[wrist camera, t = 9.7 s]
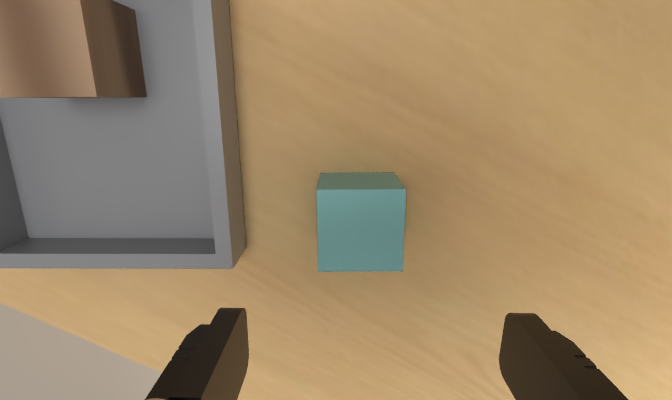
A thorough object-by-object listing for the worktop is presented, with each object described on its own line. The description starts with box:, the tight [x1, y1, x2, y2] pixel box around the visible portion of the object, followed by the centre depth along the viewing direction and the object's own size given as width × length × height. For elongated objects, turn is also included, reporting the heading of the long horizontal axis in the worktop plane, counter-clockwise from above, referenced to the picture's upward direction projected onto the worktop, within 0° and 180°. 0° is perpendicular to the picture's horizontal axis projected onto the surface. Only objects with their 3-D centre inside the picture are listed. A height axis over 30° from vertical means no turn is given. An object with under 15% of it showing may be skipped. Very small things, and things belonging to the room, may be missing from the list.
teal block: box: [316, 172, 406, 272], centre depth 24 cm, size 5×5×5 cm
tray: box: [0, 0, 246, 269], centre depth 23 cm, size 16×18×4 cm
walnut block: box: [0, 0, 147, 98], centre depth 20 cm, size 5×5×5 cm
